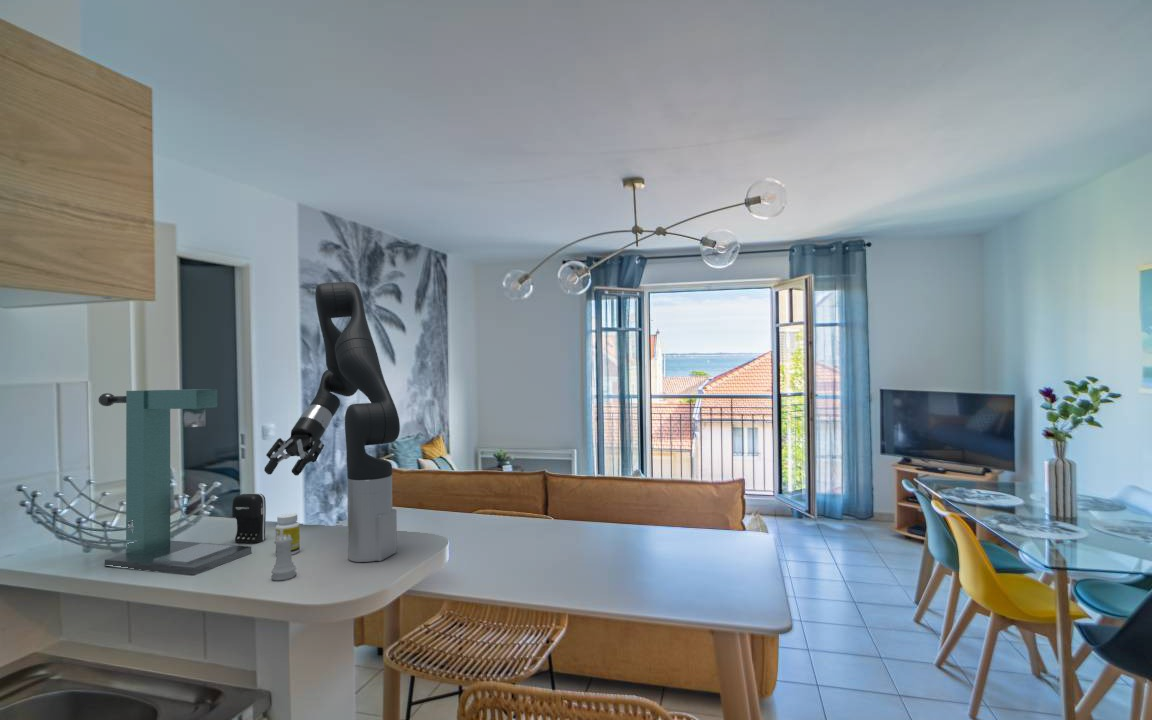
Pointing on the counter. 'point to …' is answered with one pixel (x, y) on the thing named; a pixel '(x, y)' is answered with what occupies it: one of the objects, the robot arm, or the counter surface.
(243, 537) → the battery
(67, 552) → the counter surface
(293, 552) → the supplement bottle
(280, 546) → the rook chess piece
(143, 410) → the arbor press
